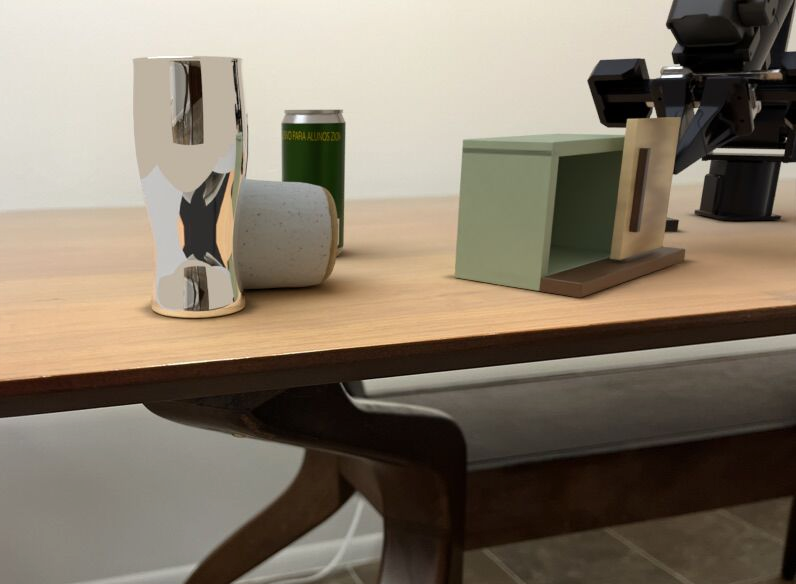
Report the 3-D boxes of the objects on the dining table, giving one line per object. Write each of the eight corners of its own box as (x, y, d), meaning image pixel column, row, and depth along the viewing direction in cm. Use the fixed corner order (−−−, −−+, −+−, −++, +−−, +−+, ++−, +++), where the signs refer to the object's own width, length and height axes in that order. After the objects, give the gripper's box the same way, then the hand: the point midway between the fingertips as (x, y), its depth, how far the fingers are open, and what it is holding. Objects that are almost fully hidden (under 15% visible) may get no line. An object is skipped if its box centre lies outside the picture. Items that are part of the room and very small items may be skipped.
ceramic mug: (342, 294, 56) (344, 178, 53) (224, 300, 54) (220, 182, 52) (307, 268, 66) (306, 170, 63) (206, 273, 64) (201, 172, 62)
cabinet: (569, 247, 74) (582, 132, 70) (684, 261, 67) (703, 134, 64) (454, 277, 61) (462, 139, 58) (580, 298, 55) (597, 142, 51)
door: (652, 245, 66) (670, 117, 63) (670, 247, 65) (689, 117, 62) (609, 258, 61) (626, 119, 58) (628, 261, 60) (646, 119, 57)
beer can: (356, 254, 71) (359, 109, 67) (309, 261, 68) (310, 110, 64) (315, 246, 75) (316, 109, 71) (270, 253, 72) (268, 110, 68)
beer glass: (231, 323, 49) (222, 54, 44) (125, 316, 51) (106, 57, 46) (265, 298, 55) (261, 60, 50) (171, 292, 57) (158, 63, 52)
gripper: (610, -42, 69) (533, 95, 65) (873, -76, 56) (796, 91, 52) (636, 61, 77) (569, 189, 73) (872, 51, 64) (806, 205, 60)
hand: (670, 170), depth 64 cm, fingers closed, pressing on door
